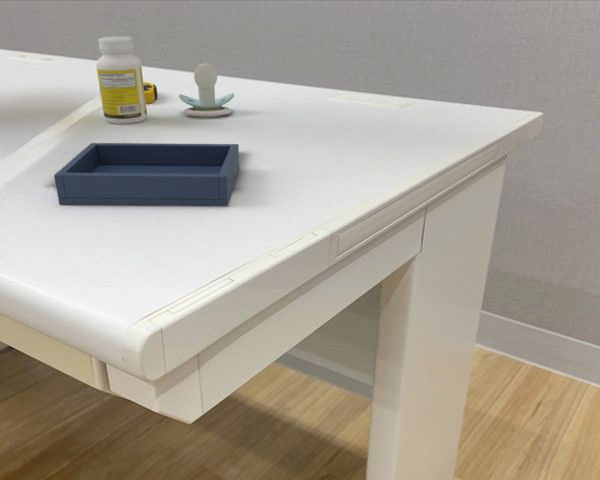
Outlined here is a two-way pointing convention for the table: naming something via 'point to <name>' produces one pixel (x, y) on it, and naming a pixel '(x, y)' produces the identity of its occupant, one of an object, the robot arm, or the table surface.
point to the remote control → (150, 92)
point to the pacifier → (206, 94)
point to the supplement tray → (150, 175)
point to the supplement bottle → (120, 81)
